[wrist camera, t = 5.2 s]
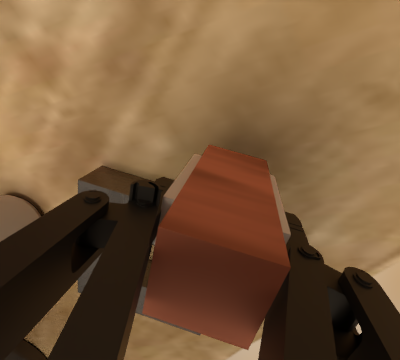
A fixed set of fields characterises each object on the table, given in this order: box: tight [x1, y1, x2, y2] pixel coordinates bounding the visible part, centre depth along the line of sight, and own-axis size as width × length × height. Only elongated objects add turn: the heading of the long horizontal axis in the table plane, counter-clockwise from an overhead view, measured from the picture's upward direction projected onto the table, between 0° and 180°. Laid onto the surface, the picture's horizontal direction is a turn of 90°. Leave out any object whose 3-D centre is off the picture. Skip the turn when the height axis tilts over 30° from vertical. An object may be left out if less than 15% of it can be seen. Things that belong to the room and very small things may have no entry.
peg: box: [142, 145, 291, 350], centre depth 12 cm, size 4×4×10 cm
